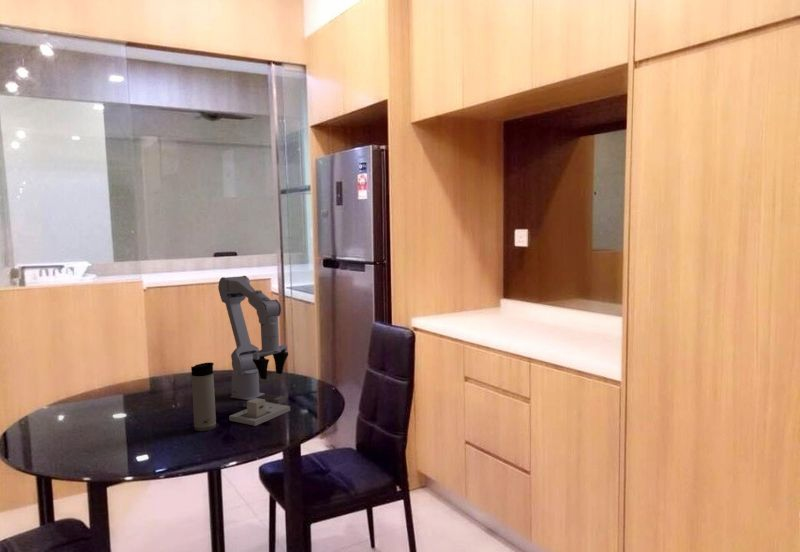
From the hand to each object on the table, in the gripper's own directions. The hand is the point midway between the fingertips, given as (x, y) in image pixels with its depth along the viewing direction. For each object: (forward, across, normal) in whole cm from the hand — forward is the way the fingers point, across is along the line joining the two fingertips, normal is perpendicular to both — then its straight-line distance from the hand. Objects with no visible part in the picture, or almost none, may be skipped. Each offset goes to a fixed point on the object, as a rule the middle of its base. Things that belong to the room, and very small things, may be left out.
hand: (271, 376), depth 188 cm
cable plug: (+11, +1, +1) cm, 11 cm away
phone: (+10, +1, +6) cm, 12 cm away
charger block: (+10, -12, -4) cm, 17 cm away
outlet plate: (+10, -9, -3) cm, 14 cm away
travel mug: (+11, -25, +4) cm, 27 cm away
